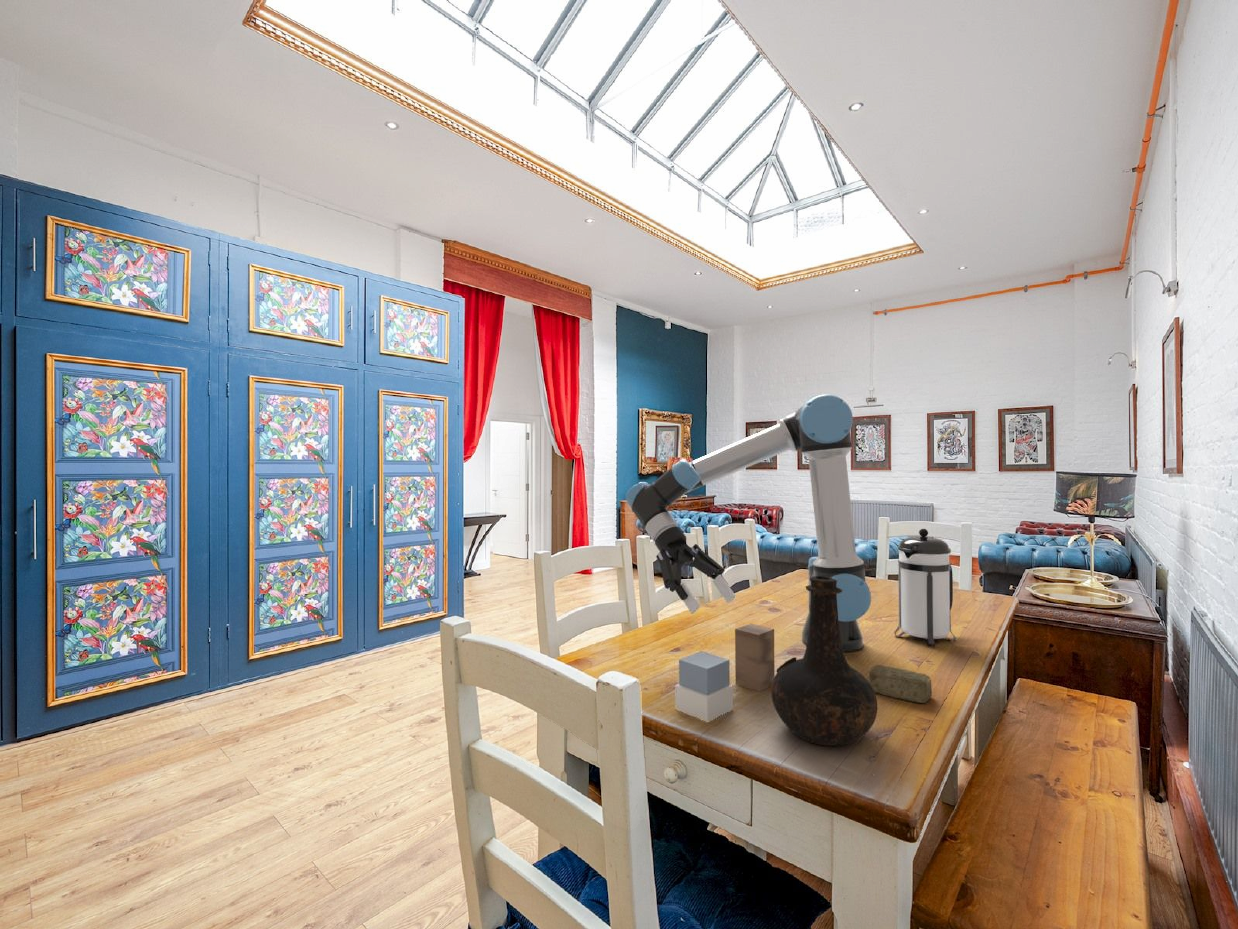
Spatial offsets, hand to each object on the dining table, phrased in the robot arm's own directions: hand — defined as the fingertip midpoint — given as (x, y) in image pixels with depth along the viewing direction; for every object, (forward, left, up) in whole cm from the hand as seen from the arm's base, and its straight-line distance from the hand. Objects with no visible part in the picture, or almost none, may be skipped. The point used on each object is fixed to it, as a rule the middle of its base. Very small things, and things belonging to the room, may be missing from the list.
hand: (714, 605), depth 131 cm
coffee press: (-52, -41, -16) cm, 68 cm away
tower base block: (0, +21, -16) cm, 26 cm away
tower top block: (-1, +21, -11) cm, 24 cm away
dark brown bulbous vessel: (-22, +25, -16) cm, 37 cm away
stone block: (-38, +3, -16) cm, 42 cm away
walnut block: (-9, +5, -15) cm, 19 cm away
